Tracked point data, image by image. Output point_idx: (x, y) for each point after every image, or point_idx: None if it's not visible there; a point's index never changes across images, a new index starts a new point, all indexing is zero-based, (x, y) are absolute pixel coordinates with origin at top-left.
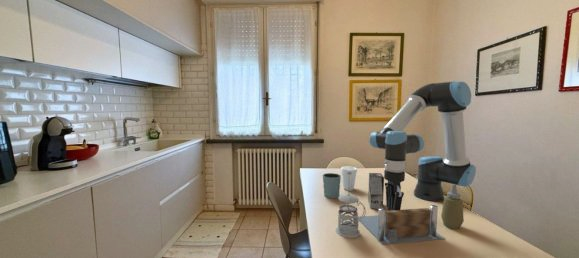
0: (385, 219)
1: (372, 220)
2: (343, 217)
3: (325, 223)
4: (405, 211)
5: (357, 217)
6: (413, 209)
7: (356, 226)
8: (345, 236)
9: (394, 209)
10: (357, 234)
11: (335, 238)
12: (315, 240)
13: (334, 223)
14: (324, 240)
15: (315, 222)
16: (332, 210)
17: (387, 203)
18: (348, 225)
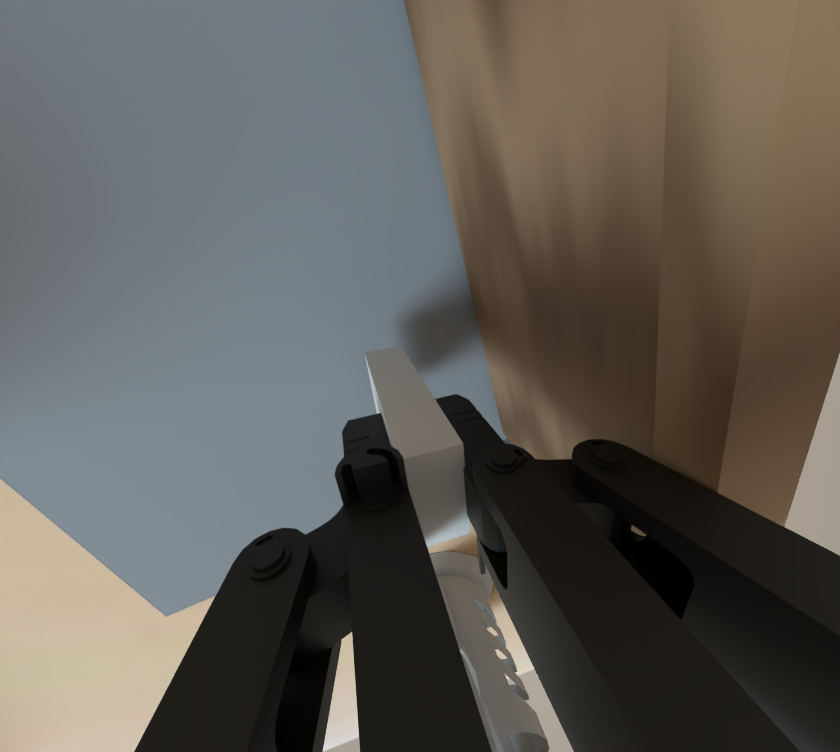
0: (84, 390)
1: (190, 506)
2: (519, 748)
3: (350, 700)
4: (819, 400)
5: (497, 694)
6: (826, 76)
7: (482, 620)
8: (488, 602)
9: (688, 583)
10: (470, 565)
11: (503, 626)
12: (522, 670)
13: (337, 673)
14: (521, 650)
15: (351, 729)
16: (102, 745)
17: (329, 704)
18: (509, 664)
